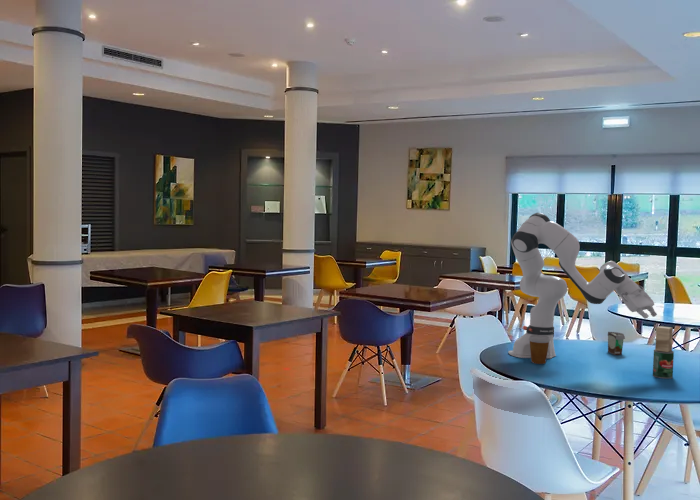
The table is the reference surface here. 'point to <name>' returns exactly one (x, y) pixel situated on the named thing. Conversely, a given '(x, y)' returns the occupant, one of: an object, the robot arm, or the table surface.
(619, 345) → the food container
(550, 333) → the robot arm
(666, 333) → the oak block
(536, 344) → the disposable coffee cup
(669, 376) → the canned tomato
